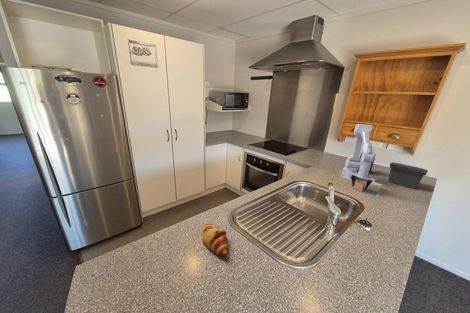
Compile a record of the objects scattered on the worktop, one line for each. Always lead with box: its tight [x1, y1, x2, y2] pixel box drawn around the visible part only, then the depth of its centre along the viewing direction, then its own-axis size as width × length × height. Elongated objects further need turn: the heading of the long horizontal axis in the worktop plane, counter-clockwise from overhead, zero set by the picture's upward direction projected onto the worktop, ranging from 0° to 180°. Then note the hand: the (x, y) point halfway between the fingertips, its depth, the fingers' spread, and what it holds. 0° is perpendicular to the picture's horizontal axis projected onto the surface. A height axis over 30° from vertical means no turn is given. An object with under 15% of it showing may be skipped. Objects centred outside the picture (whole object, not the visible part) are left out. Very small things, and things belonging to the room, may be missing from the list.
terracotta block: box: [353, 180, 367, 192], centre depth 130 cm, size 5×5×5 cm
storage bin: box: [388, 161, 429, 190], centre depth 143 cm, size 21×16×14 cm
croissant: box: [201, 221, 229, 257], centre depth 78 cm, size 21×10×8 cm, turn 31°
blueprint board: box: [351, 181, 384, 199], centre depth 131 cm, size 15×20×5 cm
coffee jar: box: [357, 151, 377, 175], centre depth 161 cm, size 11×11×18 cm
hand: (359, 187), depth 130 cm, fingers open, 7 cm apart
